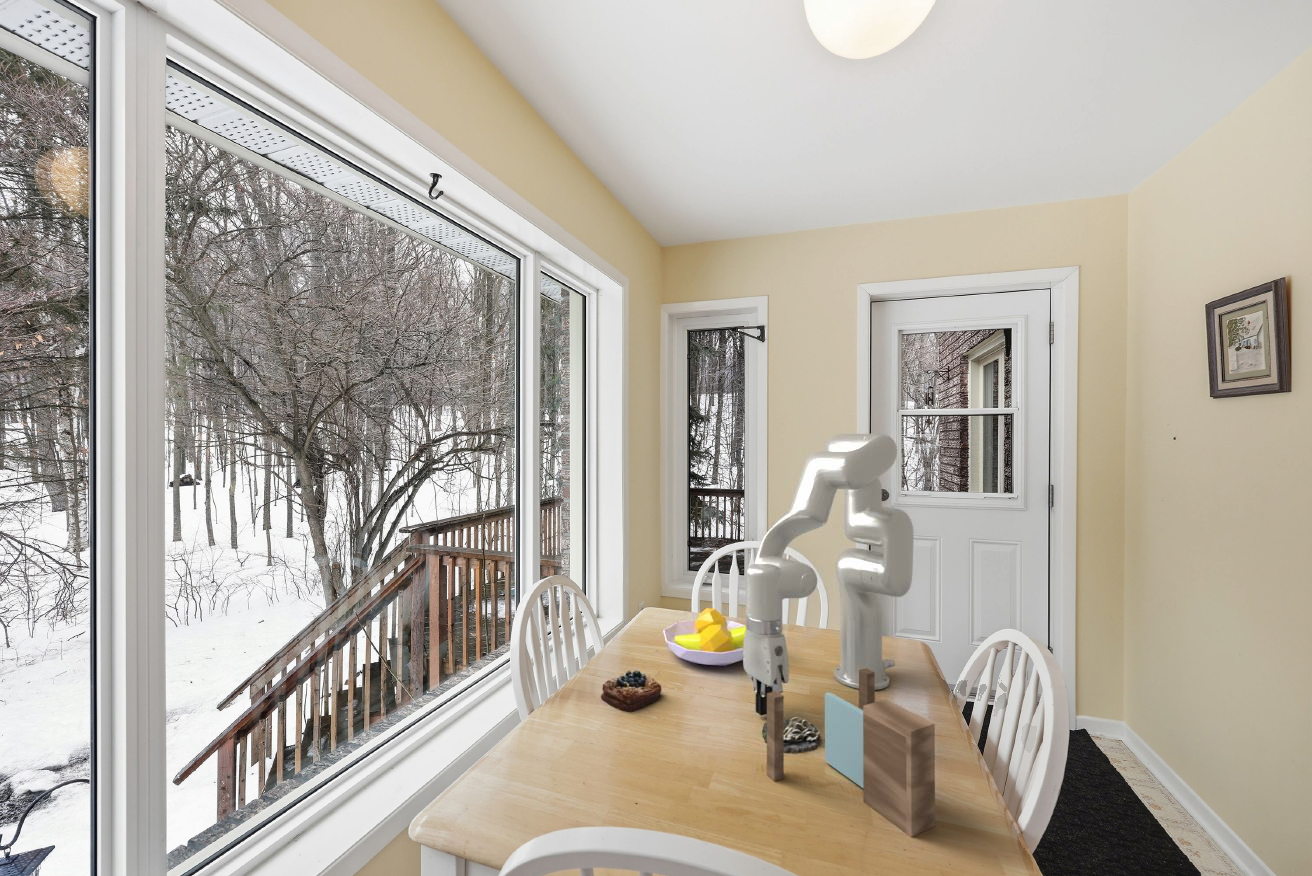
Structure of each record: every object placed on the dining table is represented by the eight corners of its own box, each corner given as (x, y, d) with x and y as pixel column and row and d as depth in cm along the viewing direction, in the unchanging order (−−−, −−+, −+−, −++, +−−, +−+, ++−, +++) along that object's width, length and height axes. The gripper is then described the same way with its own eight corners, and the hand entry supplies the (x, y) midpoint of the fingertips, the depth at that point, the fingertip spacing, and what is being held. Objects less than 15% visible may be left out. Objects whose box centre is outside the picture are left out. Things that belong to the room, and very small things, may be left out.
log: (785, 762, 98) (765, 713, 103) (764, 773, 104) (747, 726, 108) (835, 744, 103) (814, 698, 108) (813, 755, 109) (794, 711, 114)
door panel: (829, 759, 97) (829, 692, 97) (875, 790, 88) (874, 716, 89) (824, 761, 97) (824, 693, 97) (869, 793, 88) (869, 718, 88)
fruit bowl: (644, 662, 142) (644, 619, 142) (692, 632, 165) (692, 595, 165) (744, 688, 127) (744, 639, 127) (782, 651, 150) (782, 610, 150)
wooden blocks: (866, 741, 104) (866, 661, 104) (974, 807, 85) (973, 710, 85) (766, 775, 93) (766, 686, 94) (864, 859, 74) (864, 747, 75)
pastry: (595, 700, 121) (595, 674, 121) (632, 683, 130) (632, 658, 130) (629, 717, 114) (629, 689, 114) (667, 697, 123) (667, 671, 123)
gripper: (802, 632, 108) (802, 725, 108) (756, 612, 122) (756, 694, 121) (772, 638, 105) (772, 733, 105) (729, 616, 118) (728, 701, 118)
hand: (764, 712), depth 113 cm, fingers closed
